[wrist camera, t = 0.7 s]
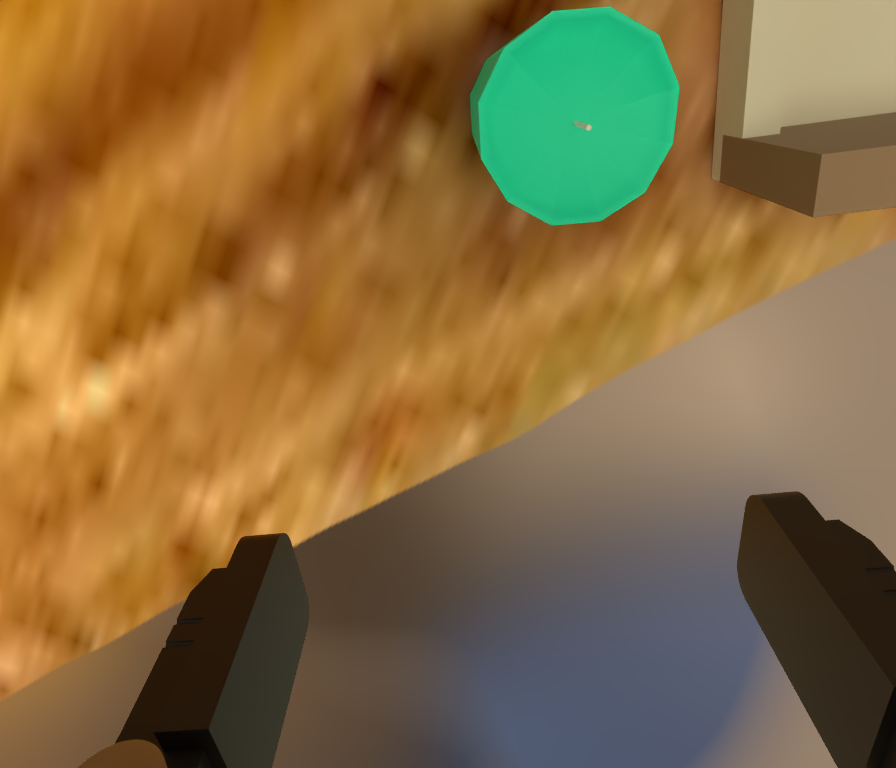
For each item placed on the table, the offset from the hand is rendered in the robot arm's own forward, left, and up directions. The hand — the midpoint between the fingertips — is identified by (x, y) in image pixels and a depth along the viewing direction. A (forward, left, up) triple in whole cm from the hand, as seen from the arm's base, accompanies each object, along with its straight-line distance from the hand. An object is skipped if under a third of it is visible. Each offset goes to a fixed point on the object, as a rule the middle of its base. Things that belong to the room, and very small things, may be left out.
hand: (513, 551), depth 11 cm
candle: (-6, +3, -22) cm, 23 cm away
